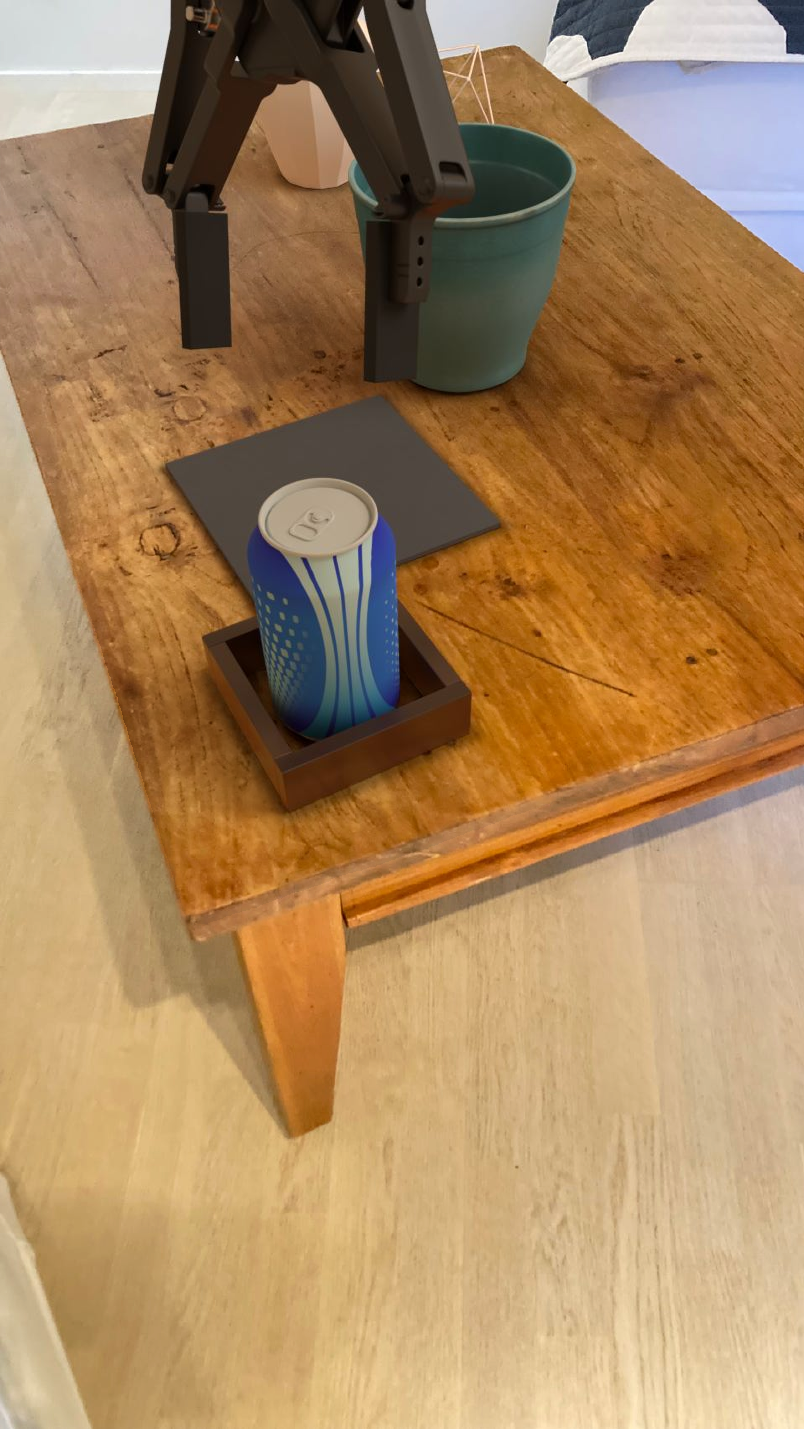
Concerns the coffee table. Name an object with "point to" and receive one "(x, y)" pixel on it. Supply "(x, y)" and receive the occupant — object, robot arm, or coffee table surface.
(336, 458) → the rubber mat
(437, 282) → the flower pot
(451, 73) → the geometric polyhedron
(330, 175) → the vase
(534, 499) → the coffee table surface
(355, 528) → the beer can
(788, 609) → the coffee table surface
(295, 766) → the can holder
